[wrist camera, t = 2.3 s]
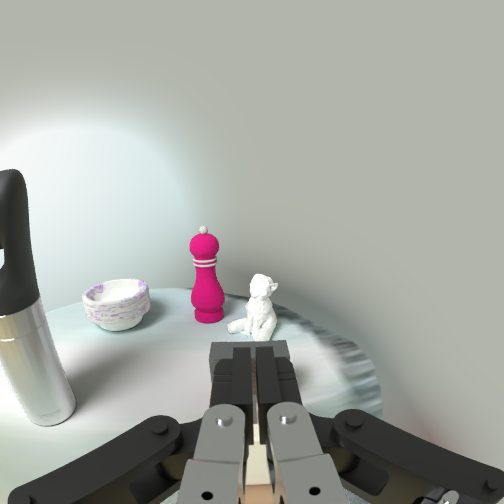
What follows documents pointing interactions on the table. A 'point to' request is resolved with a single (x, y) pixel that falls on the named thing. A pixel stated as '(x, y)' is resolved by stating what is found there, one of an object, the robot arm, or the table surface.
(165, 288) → the table surface
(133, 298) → the paper bowls
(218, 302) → the pepper mill
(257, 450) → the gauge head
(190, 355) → the table surface
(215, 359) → the grey rectangular block
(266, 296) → the white creature statuette
